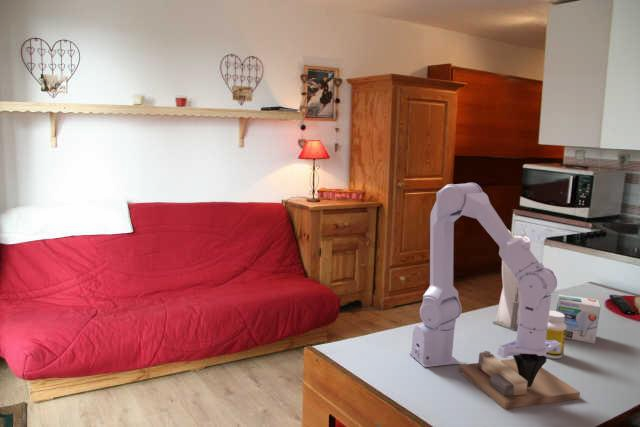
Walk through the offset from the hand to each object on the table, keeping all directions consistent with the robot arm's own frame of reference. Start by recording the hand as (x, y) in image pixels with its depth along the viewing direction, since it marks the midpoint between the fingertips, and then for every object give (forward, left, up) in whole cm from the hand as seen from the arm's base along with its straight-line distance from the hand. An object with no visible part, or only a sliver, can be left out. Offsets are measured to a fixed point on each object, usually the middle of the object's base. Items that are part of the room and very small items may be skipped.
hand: (525, 384), depth 110 cm
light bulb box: (+37, +25, -3) cm, 45 cm away
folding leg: (-3, +5, -1) cm, 6 cm away
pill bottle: (+21, +16, -3) cm, 27 cm away
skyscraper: (+24, +37, -3) cm, 44 cm away
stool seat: (+1, +5, -2) cm, 5 cm away
